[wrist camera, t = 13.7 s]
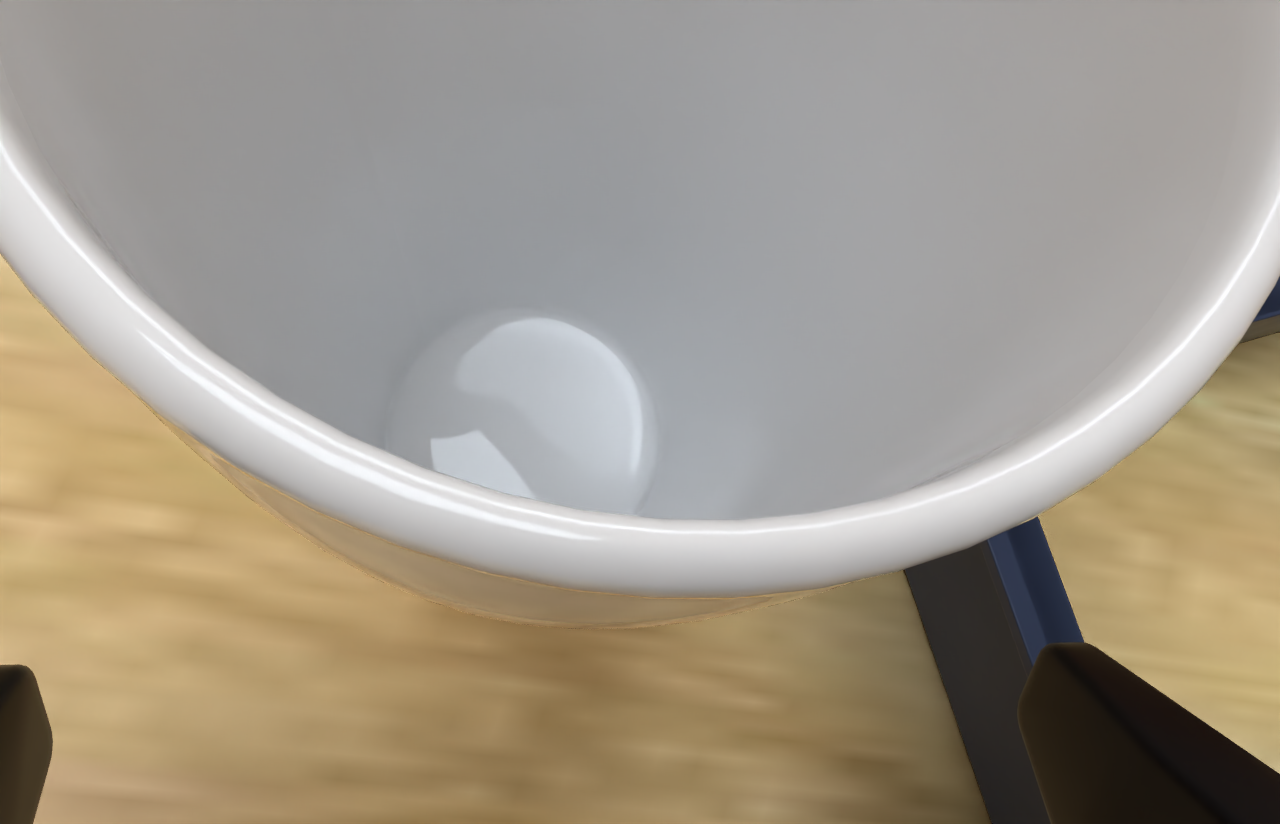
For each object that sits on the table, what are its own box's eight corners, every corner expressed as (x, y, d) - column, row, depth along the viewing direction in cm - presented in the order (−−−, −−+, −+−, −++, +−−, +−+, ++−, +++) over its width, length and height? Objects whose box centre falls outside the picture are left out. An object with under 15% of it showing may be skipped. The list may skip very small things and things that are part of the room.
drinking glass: (337, 284, 19) (-95, -879, 4) (683, 286, 20) (1231, -626, 6) (333, 647, 17) (-337, 682, 3) (707, 626, 19) (1530, 573, 4)
